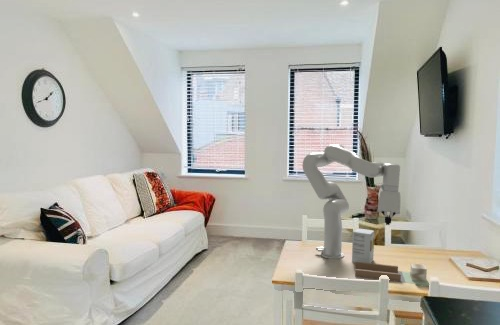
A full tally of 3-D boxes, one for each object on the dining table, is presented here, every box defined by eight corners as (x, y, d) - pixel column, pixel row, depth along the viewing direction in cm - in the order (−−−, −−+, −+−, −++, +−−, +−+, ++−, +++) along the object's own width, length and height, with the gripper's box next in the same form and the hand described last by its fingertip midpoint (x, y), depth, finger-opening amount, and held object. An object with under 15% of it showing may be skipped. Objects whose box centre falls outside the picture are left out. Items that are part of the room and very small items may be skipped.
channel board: (355, 278, 167) (355, 270, 167) (355, 267, 181) (355, 260, 180) (429, 286, 158) (430, 278, 158) (423, 274, 172) (424, 267, 172)
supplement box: (369, 266, 183) (370, 234, 181) (351, 262, 188) (352, 231, 186) (373, 260, 191) (374, 230, 189) (356, 257, 196) (357, 227, 194)
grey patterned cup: (411, 280, 164) (412, 267, 163) (410, 275, 169) (410, 263, 169) (426, 282, 162) (426, 269, 161) (424, 277, 167) (424, 264, 167)
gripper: (374, 188, 175) (372, 224, 177) (407, 190, 170) (404, 228, 172) (374, 186, 182) (371, 221, 184) (405, 188, 177) (403, 224, 179)
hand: (387, 224), depth 178 cm, fingers closed
